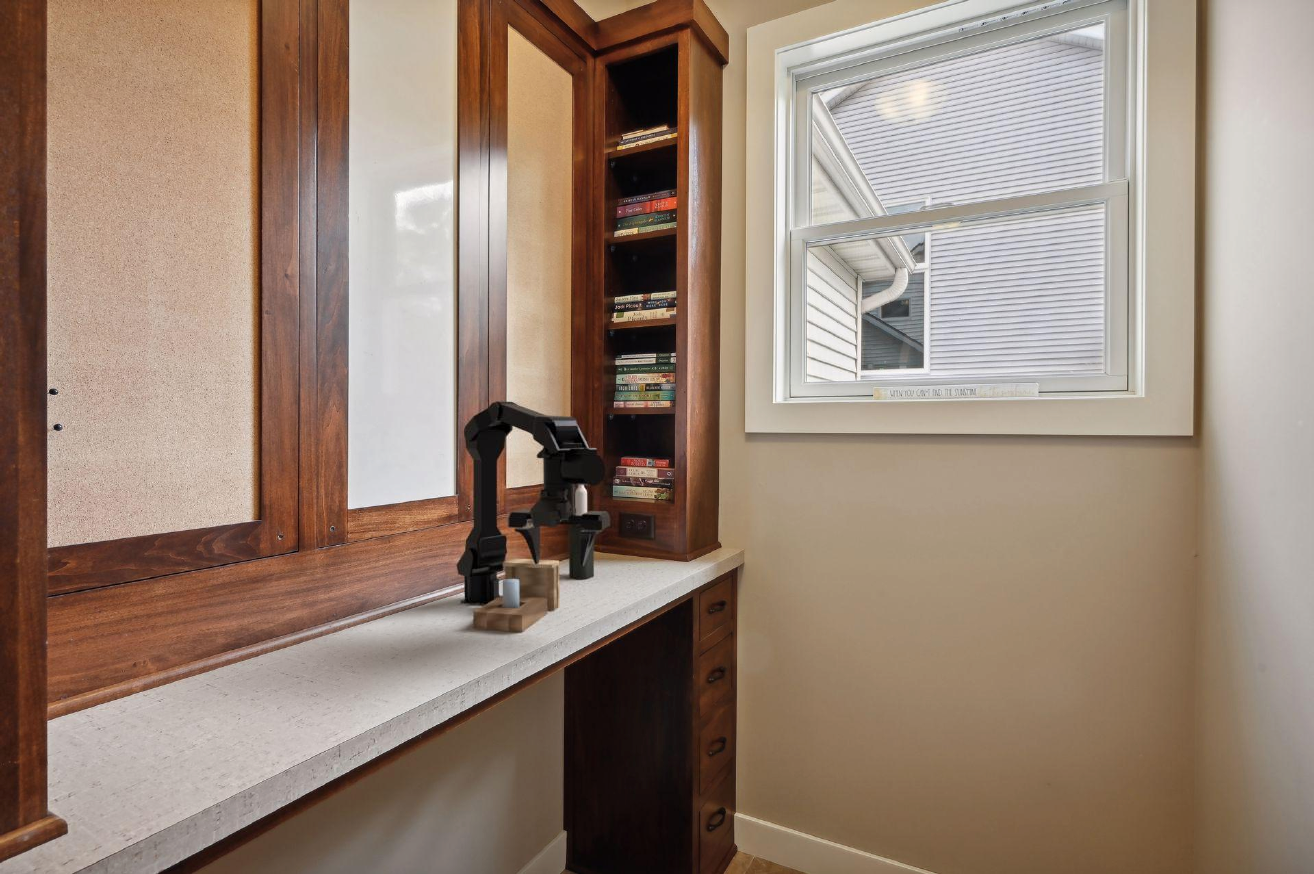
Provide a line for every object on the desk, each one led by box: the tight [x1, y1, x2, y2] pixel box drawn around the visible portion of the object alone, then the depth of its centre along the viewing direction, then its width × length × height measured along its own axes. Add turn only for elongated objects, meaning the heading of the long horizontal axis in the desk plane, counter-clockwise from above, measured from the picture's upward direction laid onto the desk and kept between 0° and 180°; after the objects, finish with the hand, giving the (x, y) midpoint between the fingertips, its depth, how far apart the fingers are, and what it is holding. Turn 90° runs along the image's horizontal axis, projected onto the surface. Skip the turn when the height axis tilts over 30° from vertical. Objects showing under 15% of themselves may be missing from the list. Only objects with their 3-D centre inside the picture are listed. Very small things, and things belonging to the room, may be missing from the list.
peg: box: [502, 579, 519, 609], centre depth 132 cm, size 3×3×8 cm
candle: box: [568, 484, 595, 581], centre depth 168 cm, size 5×5×25 cm
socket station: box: [472, 557, 560, 633], centre depth 134 cm, size 11×18×10 cm, turn 167°
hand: (559, 564), depth 127 cm, fingers open, 9 cm apart
